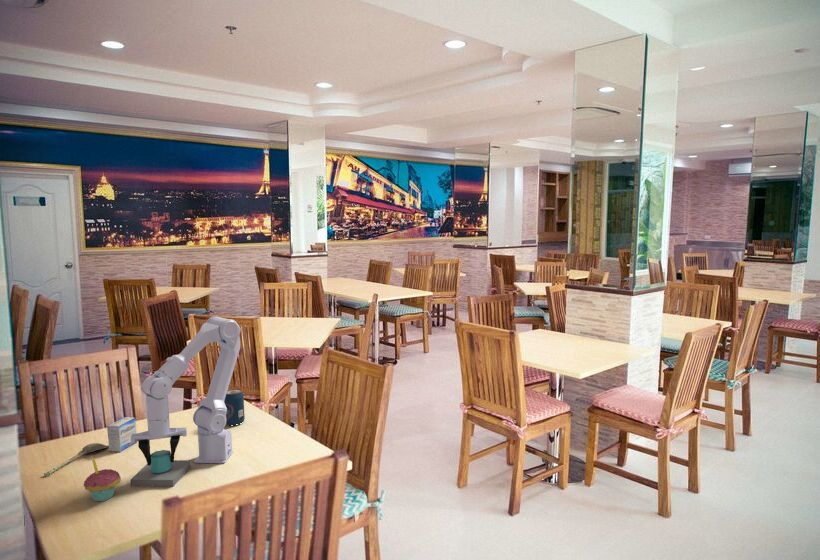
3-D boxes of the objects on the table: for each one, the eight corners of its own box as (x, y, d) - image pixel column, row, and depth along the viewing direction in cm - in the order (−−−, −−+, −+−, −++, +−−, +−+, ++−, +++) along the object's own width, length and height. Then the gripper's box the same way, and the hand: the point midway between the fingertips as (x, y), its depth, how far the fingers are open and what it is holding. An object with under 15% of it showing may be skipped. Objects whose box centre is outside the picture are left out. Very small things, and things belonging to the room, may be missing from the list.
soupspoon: (112, 449, 178) (96, 448, 180) (112, 439, 178) (95, 438, 180) (54, 479, 157) (36, 477, 159) (53, 467, 157) (35, 466, 158)
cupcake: (83, 507, 141) (79, 463, 140) (87, 492, 149) (84, 450, 147) (120, 500, 145) (117, 457, 143) (123, 486, 152) (120, 445, 151)
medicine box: (120, 452, 174) (118, 426, 173) (108, 451, 175) (106, 425, 174) (137, 442, 181) (136, 417, 180) (126, 441, 182) (124, 416, 181)
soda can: (220, 424, 196) (219, 392, 195) (235, 418, 202) (234, 387, 201) (233, 428, 193) (232, 395, 191) (248, 421, 199) (247, 390, 197)
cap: (170, 463, 161) (169, 448, 161) (172, 470, 157) (171, 455, 156) (150, 467, 158) (149, 452, 158) (152, 474, 154) (151, 459, 154)
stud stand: (191, 466, 164) (189, 447, 163) (173, 486, 152) (172, 466, 151) (151, 466, 164) (150, 447, 163) (130, 486, 152) (129, 466, 151)
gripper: (186, 409, 162) (188, 452, 164) (132, 415, 157) (135, 460, 159) (185, 417, 155) (187, 463, 157) (128, 424, 150) (131, 471, 152)
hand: (161, 462), depth 157 cm, fingers closed on cap, 5 cm apart
